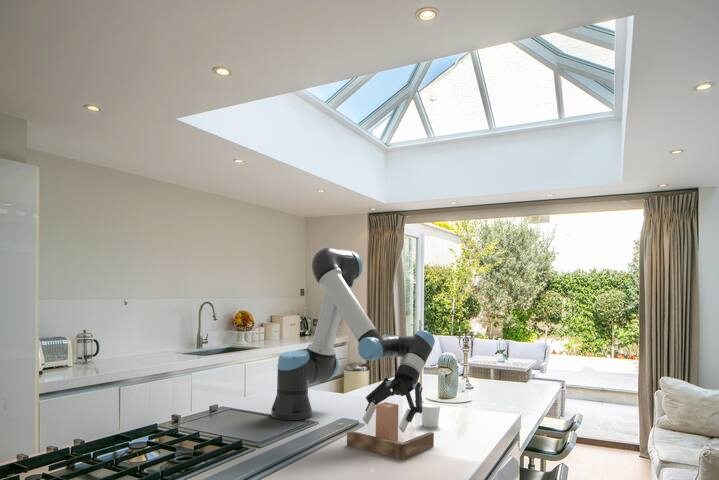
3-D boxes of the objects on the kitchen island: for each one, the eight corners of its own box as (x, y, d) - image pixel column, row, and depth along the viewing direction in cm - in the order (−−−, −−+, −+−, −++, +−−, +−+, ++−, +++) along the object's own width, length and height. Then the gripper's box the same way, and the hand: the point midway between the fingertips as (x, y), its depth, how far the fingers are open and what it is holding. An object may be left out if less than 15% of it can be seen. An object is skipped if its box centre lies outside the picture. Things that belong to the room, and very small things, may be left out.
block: (375, 444, 158) (376, 404, 160) (384, 441, 162) (385, 402, 164) (388, 447, 155) (389, 407, 157) (397, 444, 159) (398, 404, 160)
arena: (346, 445, 158) (347, 431, 158) (379, 433, 171) (379, 421, 172) (403, 459, 145) (403, 445, 145) (433, 446, 159) (433, 432, 159)
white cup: (439, 428, 180) (439, 407, 181) (419, 426, 181) (419, 406, 182) (440, 423, 187) (440, 403, 187) (421, 422, 188) (421, 402, 189)
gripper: (446, 382, 165) (422, 440, 152) (383, 373, 180) (355, 425, 167) (438, 367, 162) (413, 425, 148) (374, 359, 177) (346, 411, 163)
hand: (382, 425), depth 158 cm, fingers open, 13 cm apart
